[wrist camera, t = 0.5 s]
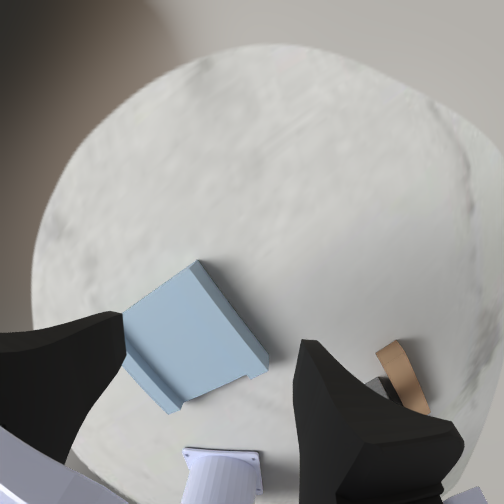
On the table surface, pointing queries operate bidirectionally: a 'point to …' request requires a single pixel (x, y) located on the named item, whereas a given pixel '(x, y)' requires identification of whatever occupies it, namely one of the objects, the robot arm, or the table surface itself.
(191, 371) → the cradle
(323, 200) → the table surface
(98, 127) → the table surface
